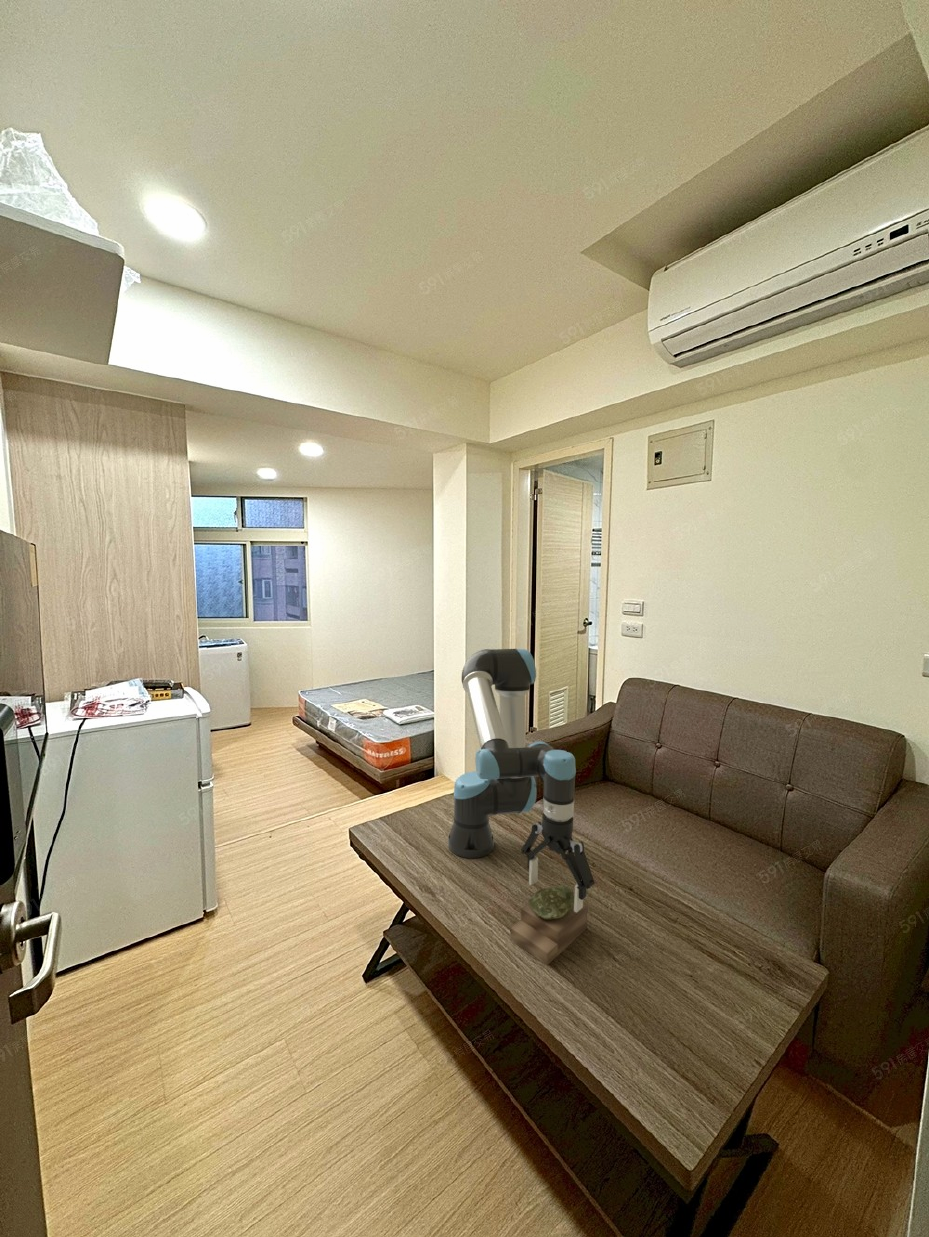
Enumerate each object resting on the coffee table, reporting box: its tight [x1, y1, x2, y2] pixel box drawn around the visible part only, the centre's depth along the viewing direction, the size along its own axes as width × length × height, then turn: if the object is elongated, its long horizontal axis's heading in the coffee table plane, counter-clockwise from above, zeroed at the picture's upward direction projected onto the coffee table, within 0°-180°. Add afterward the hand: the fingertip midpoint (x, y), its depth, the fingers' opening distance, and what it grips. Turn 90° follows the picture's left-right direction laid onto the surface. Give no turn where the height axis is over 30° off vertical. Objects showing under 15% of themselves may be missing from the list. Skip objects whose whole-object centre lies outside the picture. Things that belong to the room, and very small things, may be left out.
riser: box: [509, 885, 589, 966], centre depth 119 cm, size 11×17×6 cm, turn 134°
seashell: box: [527, 884, 575, 919], centre depth 120 cm, size 10×7×10 cm
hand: (554, 895), depth 120 cm, fingers open, 13 cm apart
